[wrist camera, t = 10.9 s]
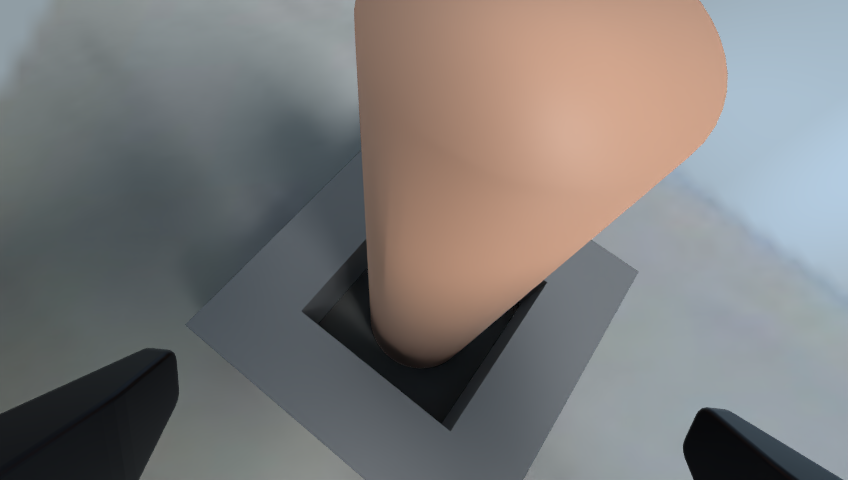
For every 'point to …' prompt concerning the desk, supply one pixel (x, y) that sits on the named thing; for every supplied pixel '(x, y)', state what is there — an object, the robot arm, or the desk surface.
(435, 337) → the peg
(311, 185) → the desk surface
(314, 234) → the socket block
